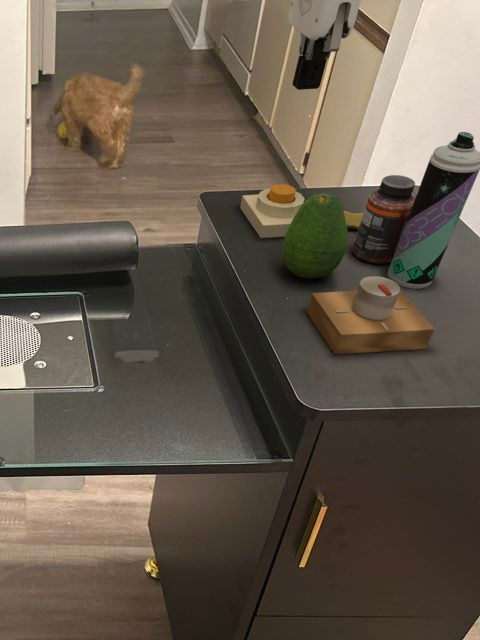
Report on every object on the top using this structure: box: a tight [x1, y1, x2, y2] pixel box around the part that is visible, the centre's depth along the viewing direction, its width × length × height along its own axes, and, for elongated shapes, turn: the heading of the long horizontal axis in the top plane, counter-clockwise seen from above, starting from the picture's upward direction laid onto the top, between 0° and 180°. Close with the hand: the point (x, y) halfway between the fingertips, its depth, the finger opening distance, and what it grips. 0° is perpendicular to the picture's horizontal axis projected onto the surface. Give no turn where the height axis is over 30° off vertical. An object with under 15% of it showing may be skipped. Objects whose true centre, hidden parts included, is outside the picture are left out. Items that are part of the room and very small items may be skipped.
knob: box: [352, 275, 401, 320], centre depth 88 cm, size 4×4×4 cm
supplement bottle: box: [352, 174, 416, 265], centre depth 100 cm, size 6×6×11 cm
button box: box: [239, 187, 305, 239], centre depth 112 cm, size 8×10×4 cm
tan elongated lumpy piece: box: [343, 209, 364, 231], centre depth 109 cm, size 3×14×3 cm
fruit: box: [282, 192, 349, 280], centre depth 97 cm, size 8×8×12 cm
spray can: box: [386, 131, 480, 290], centre depth 93 cm, size 6×6×20 cm
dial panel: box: [306, 289, 435, 355], centre depth 90 cm, size 11×9×3 cm
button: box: [268, 183, 297, 204], centre depth 110 cm, size 4×4×2 cm
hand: (305, 86), depth 100 cm, fingers closed
